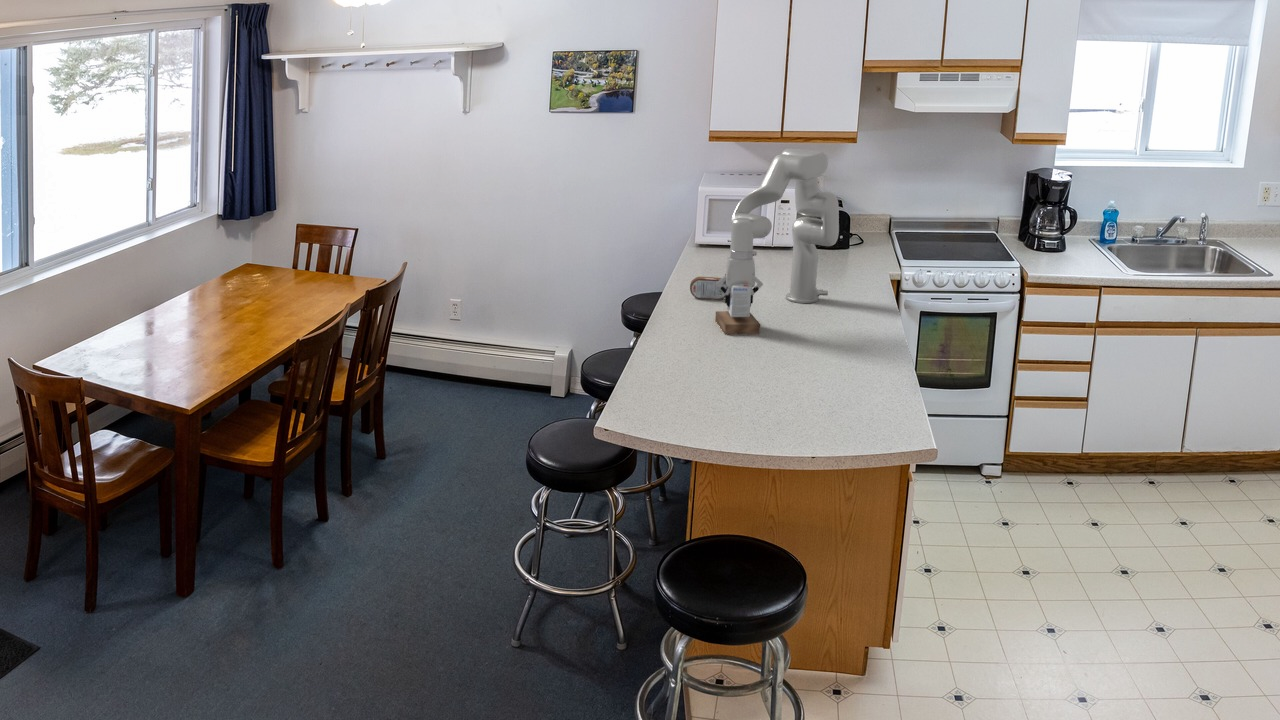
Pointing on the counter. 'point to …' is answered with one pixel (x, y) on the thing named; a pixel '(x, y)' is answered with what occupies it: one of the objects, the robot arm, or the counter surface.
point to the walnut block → (737, 324)
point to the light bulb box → (740, 300)
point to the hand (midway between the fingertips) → (738, 304)
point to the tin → (707, 288)
